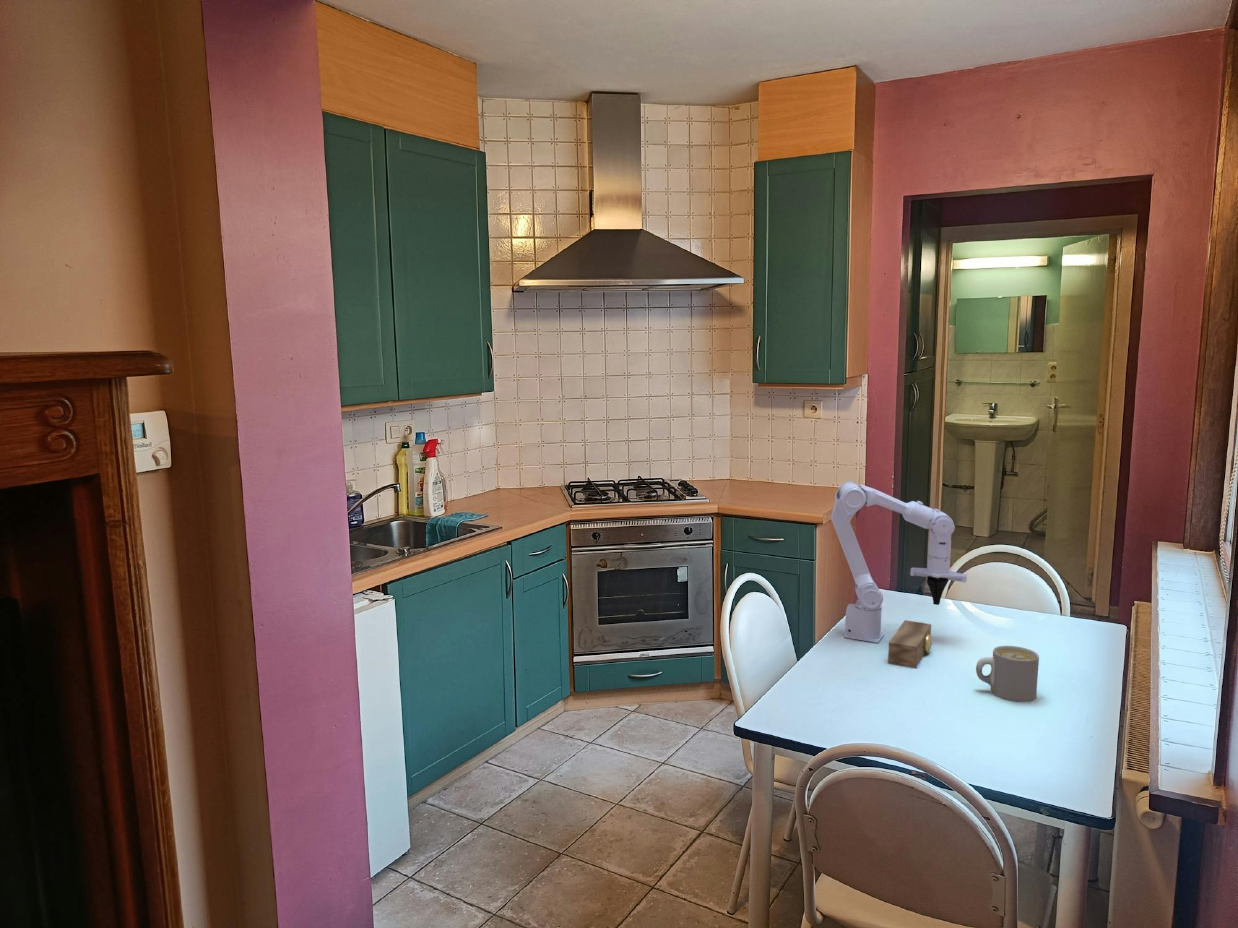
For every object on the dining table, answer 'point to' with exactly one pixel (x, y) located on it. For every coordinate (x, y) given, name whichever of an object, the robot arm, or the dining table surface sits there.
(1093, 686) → the dining table surface
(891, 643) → the drawbar beam
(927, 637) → the steel pin
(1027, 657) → the coffee mug
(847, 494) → the robot arm
